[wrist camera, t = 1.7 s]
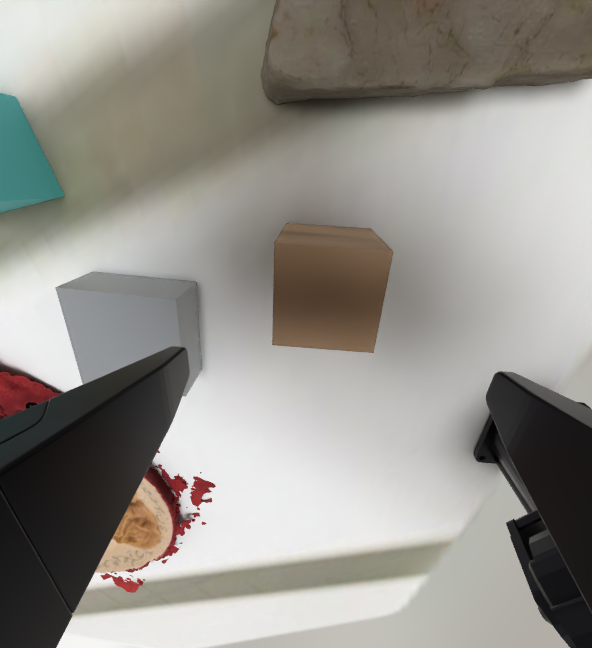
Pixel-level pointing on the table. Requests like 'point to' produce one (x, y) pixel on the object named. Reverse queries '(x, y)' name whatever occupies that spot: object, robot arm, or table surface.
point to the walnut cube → (329, 287)
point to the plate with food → (144, 510)
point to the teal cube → (22, 161)
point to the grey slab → (129, 321)
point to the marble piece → (422, 46)
